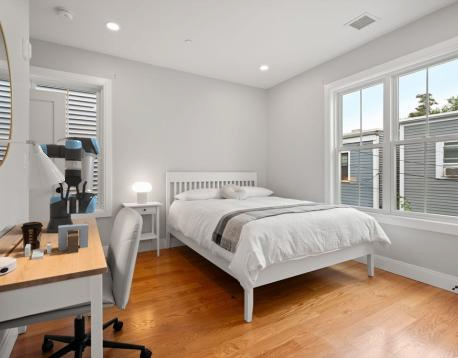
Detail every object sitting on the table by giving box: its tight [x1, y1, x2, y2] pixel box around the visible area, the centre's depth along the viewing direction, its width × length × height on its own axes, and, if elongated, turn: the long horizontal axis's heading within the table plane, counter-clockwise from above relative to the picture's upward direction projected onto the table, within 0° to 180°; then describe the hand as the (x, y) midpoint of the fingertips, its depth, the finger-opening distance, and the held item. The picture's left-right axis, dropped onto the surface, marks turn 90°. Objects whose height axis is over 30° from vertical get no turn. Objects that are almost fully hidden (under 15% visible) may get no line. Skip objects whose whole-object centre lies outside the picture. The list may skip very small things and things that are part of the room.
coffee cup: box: [20, 221, 44, 252], centre depth 125 cm, size 9×8×13 cm
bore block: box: [57, 223, 89, 252], centre depth 129 cm, size 5×13×11 cm, turn 124°
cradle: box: [24, 241, 52, 261], centre depth 117 cm, size 13×10×4 cm
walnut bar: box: [66, 230, 80, 255], centre depth 127 cm, size 14×4×8 cm, turn 32°
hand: (72, 212), depth 137 cm, fingers open, 3 cm apart
